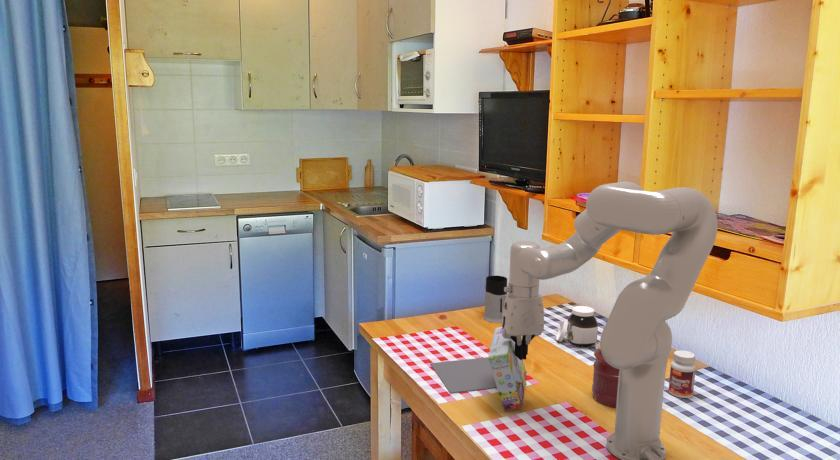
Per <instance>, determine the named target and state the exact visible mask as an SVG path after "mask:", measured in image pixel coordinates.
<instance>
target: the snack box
mask: <svg viewBox="0 0 840 460" xmlns="http://www.w3.org/2000/svg"><path fill="white" fill-rule="evenodd" d="M494 329H495V330H494V333H493V336H492V341H491V345H490V349H489V353H488V356H487V357H488V359H489V363H490V366H491V369H492V373H493V376H494V379H495V383H496V386H497V388H496V389H497V392H498V393H497V394H498V396H499V399H500V403H501V407H502V410H503V412H505V411H511V410H519V409H522V408H523V404H524V397H525V391H526V389H525V388H526V385H525V383H527V382H526V381H527V374H528V372H527V370H526V369H527V368H526V366H525V362H524V359H522V360H520V359H519V358H517V357H516V355H515V342H514V341H513V340H512V339H506V338H504V337H502V332H503V329H502V326H498V327H495V328H494Z"/></svg>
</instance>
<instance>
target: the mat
mask: <svg viewBox="0 0 840 460" xmlns="http://www.w3.org/2000/svg"><path fill="white" fill-rule="evenodd" d="M429 364H430V366H431V368H432V369H433V371H435V373H436V374H437V376H438V378H439V379H440V380H441V382H442V384H443V386H445V388H446V389H447V391H448V392H449V394H458V393H466V392H474V391H475V392H476V391H485V390H493V389H494V390H495V389H497V386H496V383H495V379H494V376H493V373H492V369H491V366H490V363H489V359H488V356H487V357H475V358H466V359H459V360H458V359H457V360H450V361H438V362H437V361H436V362H431V363H429ZM525 386H527V382H525Z"/></svg>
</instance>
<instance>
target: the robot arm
mask: <svg viewBox="0 0 840 460" xmlns="http://www.w3.org/2000/svg"><path fill="white" fill-rule="evenodd" d="M716 213H717V212H716V210H715V208H714V205H713V204H712V202H711V201H710V200H709V198H708V197H707V196H706V195H705V194H704V193H702V192H701V191H700V190H697V189H695V188H691V187H684V186H683V187H671V188H667V189H661V190H655V191H649V190H644V189H643V187H641V185H639V184H638V183H635V182H632V181H619V182H611V183H604V184H601V185H598V186H597V187H595V188H594V189H593V190H591V192H590V193H589V194H588V196H587V199H586V203H585V209H584V210H583V211H582V212H580V213H579V214H578V215H576V217H575V219H574V220H573V221H574V222H573V223H574V224H573V226H574V229H575V233H573V234H572V235H571V236H570V237H569V238H567V239H566V240H564V241H563V242H562V243H559V244H558V243H557V244H553V245H550V246H547V247H545V246H544V247H541V246H540V244H538V243H537V242H534V241H530V240H529V241H528V240H519V241H515V242H513V243H512V244H511V246H510V253H509V255H510V256H509V262H510V263H509V281H508V282H507V287H504V292H507V295H506V299H505V303H504V308H503V316H502V322H501V327H502V329H503V332H502V337H504V338H506V339H512V340H513V341H514V342H515V355H516V357H517V358H519V359H520V360H522V359H523V361H525V360H527V355H528V354H529V353H528V352H529V345H530V344H531V341H533V339H534V338H536V337H539V336H541V335H542V334H543V332H544V330H545V311H544V310H545V309H544V301H543V296H542V295H541V294H540V281H541V280H543V281H545V280H549V279H553V278H554V279H555V278H556V277H559V276H562V275H566V274H567V275H568V274H570V273H573V272H575V271H577V269H580V267H582V266H583V265H585V264H586V263H587V262H588V261H590V260H591V259H592V258H593V257H595V256H596V254H598V252H599V251H600V249H601V248H602V246H603V245H604V244H606V243H607V242H608V241H609V240H610V239H611V238H613V237H614V236H615V235H617V234H618V233H619V232H621V231H626V232H632V233H637V234H642V235H643V234H645V235H652V236H660V235H665V234H670V233H671V235H670V237H669V239H668V240H667V241H666V243H665V244H664V245H663V247H662V249H661V250H660V252H659V255H658V256H657V260H656V261H655V263H654V265H653V267H652V269H651V271H650V272H649V273H648V274H647V275H646V276H644V277H642V278H639V279H636V280H634V281H632V282H630V283H628V284H627V285H626V286H625V287H624V288H622V290H621V292H620V293H619V295H618V297H617V298H616V300H615V302H614V304H613V307H612V309H611V312H610V313H609V317H608V319H607V321H606V322H605V326H604V328H603V330H602V332H601V336H600V339H599V340H600V341H599V342H600V349H601V353H602V356H603V358H604V359H605V361H606V362H607V363H608V364H609V365H611V366H612V367H614V368H617V369H620V370H619V378H618V390H617V404H616V407H615V418H614V419H615V420H614V421H615V422H614V432H613V433H612V434H610V435H609V436H608V437H607V438H606V449H607V450H608V451H609V452H610V454H612V455H613V456H614V457H616V458H617V459H619V460H665V459H666V458H667V450H666V447H665V445H664V444H663V443H662V440H661V439H660V438H661V437H660V435H661V426H662V425H661V424H662V413H663V412H662V411H663V401H664V391H665V390H664V389H665V380H666V372H667V371H666V370H667V367H668V366H667V365H668V362H669V358H670V354H671V350H672V345H673V334H672V330H671V328H670V325H669V323H668V322H667V321H668V320H669V319H672V318H674V317H676V316H678V315H679V314H680V312H682V311H683V309H684V308H685V306H686V303H687V302H688V299H689V296H690V295H691V293H692V291H693V289H694V287H695V285H696V283H697V281H698V279H699V277H700V274H701V271H702V269H703V267H704V266H705V264H706V261H707V259H708V258H709V256H710V254H711V251H712V250H713V247H714V245H715V242H716V238H717V235H718V223H719V222H718V216H717V214H716ZM508 293H509V294H508Z"/></svg>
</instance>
